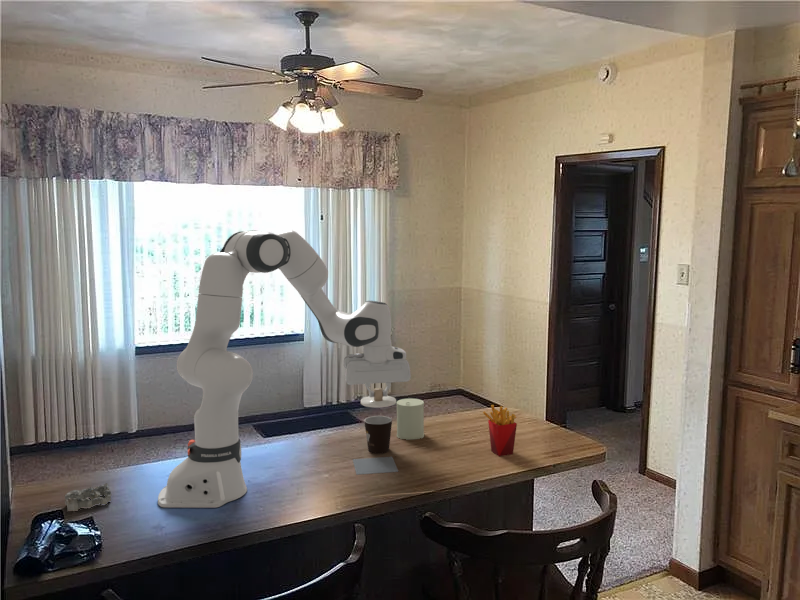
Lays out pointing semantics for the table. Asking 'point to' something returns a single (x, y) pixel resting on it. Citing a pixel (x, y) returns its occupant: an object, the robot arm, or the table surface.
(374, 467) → the mat
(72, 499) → the egg carton
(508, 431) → the french fries
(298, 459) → the table surface
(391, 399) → the lid
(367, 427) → the dark brown two-tone container
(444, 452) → the table surface
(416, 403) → the can
